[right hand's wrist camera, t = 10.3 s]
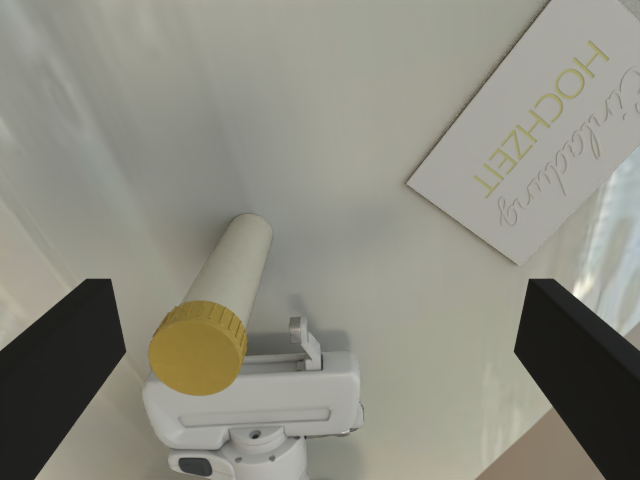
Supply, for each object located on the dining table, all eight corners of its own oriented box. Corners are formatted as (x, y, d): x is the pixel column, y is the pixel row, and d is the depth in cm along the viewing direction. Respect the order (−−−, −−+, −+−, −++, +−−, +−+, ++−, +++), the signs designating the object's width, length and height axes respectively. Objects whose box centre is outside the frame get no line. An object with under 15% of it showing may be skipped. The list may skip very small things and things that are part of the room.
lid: (214, 384, 26) (204, 411, 24) (144, 338, 24) (128, 362, 22) (265, 334, 24) (260, 357, 22) (194, 282, 23) (182, 302, 21)
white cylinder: (253, 263, 41) (205, 399, 24) (218, 236, 40) (140, 357, 23) (282, 233, 40) (253, 352, 23) (246, 204, 39) (187, 305, 21)
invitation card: (581, -38, 31) (701, 82, 34) (579, -37, 31) (698, 82, 35) (406, 184, 38) (520, 267, 41) (405, 183, 38) (519, 265, 41)
